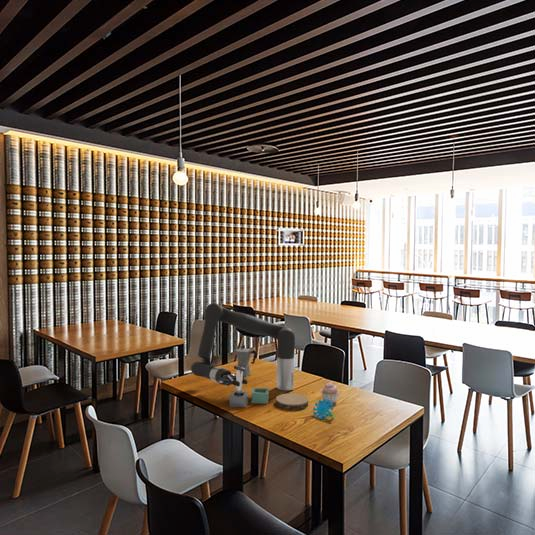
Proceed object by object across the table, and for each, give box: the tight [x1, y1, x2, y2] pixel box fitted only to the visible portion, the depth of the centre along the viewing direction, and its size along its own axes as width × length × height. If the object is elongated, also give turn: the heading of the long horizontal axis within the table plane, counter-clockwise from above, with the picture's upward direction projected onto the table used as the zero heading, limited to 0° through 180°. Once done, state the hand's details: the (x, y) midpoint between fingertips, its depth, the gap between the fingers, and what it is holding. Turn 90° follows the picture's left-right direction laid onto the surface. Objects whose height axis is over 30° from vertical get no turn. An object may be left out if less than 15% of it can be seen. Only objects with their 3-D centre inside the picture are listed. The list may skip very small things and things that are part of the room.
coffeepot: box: [233, 344, 258, 377], centre depth 251 cm, size 15×9×18 cm, turn 70°
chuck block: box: [228, 390, 249, 408], centre depth 201 cm, size 8×8×5 cm
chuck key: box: [233, 365, 246, 396], centre depth 201 cm, size 8×3×18 cm, turn 46°
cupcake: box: [320, 381, 340, 404], centre depth 208 cm, size 9×9×10 cm
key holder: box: [251, 387, 270, 405], centre depth 207 cm, size 8×8×5 cm
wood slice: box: [275, 393, 309, 411], centre depth 203 cm, size 16×16×3 cm
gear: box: [312, 398, 335, 420], centre depth 189 cm, size 11×6×10 cm
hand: (243, 383), depth 199 cm, fingers open, 4 cm apart
